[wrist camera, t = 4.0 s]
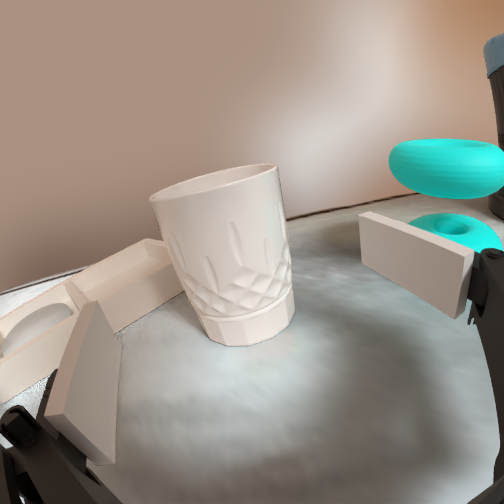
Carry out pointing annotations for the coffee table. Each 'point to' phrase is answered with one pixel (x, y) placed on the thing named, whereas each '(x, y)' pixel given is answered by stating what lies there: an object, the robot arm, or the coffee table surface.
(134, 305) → the tray
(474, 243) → the donuts
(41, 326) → the grey flat disc
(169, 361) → the coffee table surface
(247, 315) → the white cup
